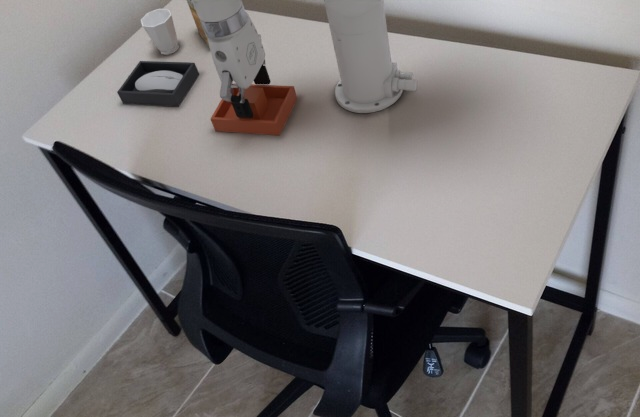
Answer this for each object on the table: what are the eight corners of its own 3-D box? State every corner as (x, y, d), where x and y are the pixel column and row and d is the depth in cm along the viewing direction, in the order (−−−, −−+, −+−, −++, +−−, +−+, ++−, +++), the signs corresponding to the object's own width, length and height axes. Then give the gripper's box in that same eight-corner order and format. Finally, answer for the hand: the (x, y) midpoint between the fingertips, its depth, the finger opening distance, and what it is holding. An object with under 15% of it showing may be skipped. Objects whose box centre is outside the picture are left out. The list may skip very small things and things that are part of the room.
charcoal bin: (199, 74, 134) (194, 62, 132) (178, 106, 128) (173, 95, 126) (145, 72, 138) (139, 60, 136) (123, 103, 132) (116, 92, 130)
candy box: (197, 31, 145) (173, -32, 134) (214, 24, 146) (191, -40, 134) (210, 49, 139) (185, -15, 128) (227, 41, 140) (205, -23, 129)
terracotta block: (268, 105, 122) (262, 87, 119) (260, 121, 119) (254, 103, 116) (247, 104, 123) (241, 86, 120) (239, 120, 121) (232, 102, 118)
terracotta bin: (297, 98, 122) (294, 86, 120) (279, 135, 116) (275, 123, 114) (235, 95, 127) (230, 83, 125) (215, 131, 121) (210, 119, 119)
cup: (165, 62, 139) (151, 30, 133) (141, 48, 145) (126, 17, 139) (190, 45, 142) (177, 13, 136) (165, 32, 148) (152, 0, 142)
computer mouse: (181, 94, 130) (175, 82, 128) (135, 99, 132) (129, 87, 130) (187, 75, 134) (182, 63, 131) (142, 80, 136) (137, 69, 133)
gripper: (224, 51, 100) (256, 133, 113) (262, -12, 110) (288, 69, 123) (182, 51, 103) (218, 131, 115) (223, -11, 113) (252, 69, 125)
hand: (254, 99), depth 119 cm, fingers open, 8 cm apart
